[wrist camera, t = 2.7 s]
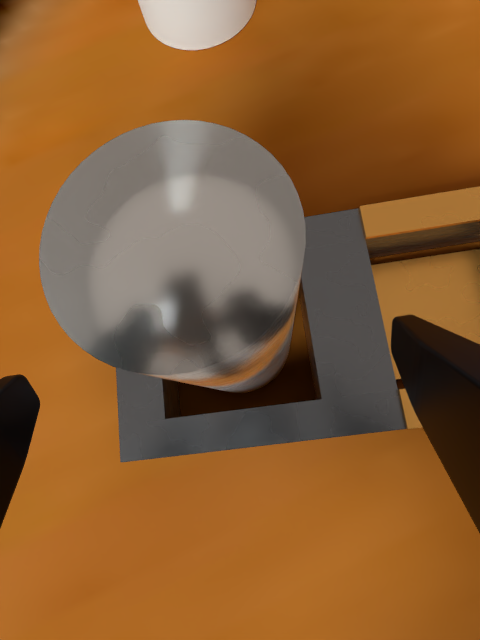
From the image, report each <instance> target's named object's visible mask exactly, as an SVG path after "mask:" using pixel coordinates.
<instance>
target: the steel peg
mask: <svg viewBox="0 0 480 640" xmlns="http://www.w3.org/2000/svg"><path fill="white" fill-rule="evenodd" d="M305 245H306V226H305V220H304V214H303V208H302V205H301V202H300V199H299V195H298V193H297V191H296V189H295V187H294V184H293V182H292V180H291V178H290V177H289V175H288V174H287V172H286V171H285V169H284V168H283V166H282V165H281V164H280V163H279V162H278V161H277V160H276V159H275V157H274V156H273V155H272V154H271V153H270V152H268V151H267V150H266V149H265V148H264V147H263V146H261V145H260V144H259V143H257V142H256V141H254V140H253V139H251V138H249V137H248V136H246V135H244V134H242V133H240V132H238V131H236V130H233V129H231V128H228V127H225V126H222V125H218V124H214V123H209V122H203V121H193V120H176V121H165V122H159V123H153V124H150V125H146V126H143V127H139V128H136V129H134V130H131V131H129V132H126V133H124V134H122V135H120V136H118V137H116V138H114V139H112V140H111V141H109V142H107V143H106V144H104V145H103V146H101V147H100V148H98V149H97V150H95V151H94V152H93V153H92V154H91V155H89V156H88V157H87V158H86V159H85V160H84V161H83V162H81V163H80V165H79V166H78V167H77V168H76V169H75V170H74V171H73V172H72V173H71V174H70V176H69V177H68V178H67V180H66V181H65V183H64V184H63V185H62V187H61V188H60V190H59V192H58V193H57V195H56V197H55V199H54V201H53V202H52V205H51V207H50V210H49V212H48V214H47V217H46V220H45V224H44V227H43V231H42V236H41V242H40V253H39V267H40V275H41V282H42V286H43V290H44V294H45V297H46V299H47V302H48V304H49V307H50V309H51V311H52V313H53V315H54V316H55V318H56V320H57V321H58V323H59V325H60V326H61V327H62V328H63V330H64V331H65V332H66V333H67V334H68V336H69V337H70V338H71V339H72V340H73V341H74V342H75V343H76V344H78V345H79V346H80V347H81V348H82V349H83V350H85V351H86V352H88V353H89V354H91V355H92V356H94V357H95V358H97V359H98V360H101V361H103V362H105V363H107V364H109V365H111V366H113V367H117V368H120V369H123V370H126V371H130V372H134V373H139V374H144V375H149V376H154V377H158V378H163V379H168V380H173V381H178V382H183V383H188V384H193V385H198V386H203V387H208V388H212V389H217V390H222V391H227V392H233V393H244V392H250V391H254V390H257V389H259V388H262V387H263V386H265V385H267V384H268V383H270V382H271V381H272V380H273V379H274V378H275V377H276V376H277V375H278V374H279V373H280V371H281V370H282V368H283V367H284V365H285V363H286V360H287V358H288V354H289V350H290V343H291V337H292V331H293V324H294V318H295V311H296V305H297V299H298V292H299V286H300V280H301V273H302V267H303V260H304V253H305Z"/></svg>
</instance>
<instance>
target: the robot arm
mask: <svg viewBox="0 0 480 640" xmlns="http://www.w3.org/2000/svg"><path fill="white" fill-rule="evenodd" d="M391 352H392V356H393V359H394V361H395V364H396V366H397V369H398V371H399V374H400V377H401V379H402V382H403V384H404V387H405V389H406V392H407V394H408V397H409V400H410V402H411V405H412V407H413V409H414V411H415V413H416V415H417V417H418V419H419V421H420V423H421V425H422V427H423V429H424V431H425V432H426V434H427V436H428V438H429V440H430V442H431V444H432V445H433V447H434V449H435V451H436V453H437V455H438V457H439V458H440V460H441V462H442V464H443V466H444V468H445V470H446V472H447V473H448V475H449V477H450V479H451V481H452V483H453V485H454V486H455V488H456V490H457V492H458V494H459V496H460V498H461V499H462V501H463V503H464V505H465V507H466V509H467V511H468V512H469V514H470V516H471V518H472V520H473V522H474V524H475V525H476V527H477V529H478V531H479V533H480V344H478V343H476V342H473V341H471V340H469V339H467V338H464V337H462V336H460V335H458V334H455V333H453V332H451V331H449V330H446V329H444V328H442V327H440V326H437V325H435V324H433V323H431V322H428V321H426V320H424V319H422V318H419V317H417V316H415V315H403V316H397V317H395V318H394V319H393V321H392V331H391ZM39 408H40V400H39V398H38V396H37V394H36V393H35V391H34V389H33V388H32V386H31V385H30V383H29V382H28V380H27V378H26V377H25V376H23V375H20V374H19V375H12V376H6V377H3V378H2V379H0V528H1V525H2V523H3V520H4V517H5V515H6V512H7V509H8V507H9V504H10V501H11V499H12V496H13V494H14V491H15V488H16V486H17V483H18V480H19V478H20V475H21V472H22V469H23V467H24V464H25V460H26V457H27V454H28V450H29V446H30V442H31V439H32V435H33V431H34V427H35V423H36V420H37V416H38V412H39Z"/></svg>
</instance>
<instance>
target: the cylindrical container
mask: <svg viewBox="0 0 480 640" xmlns="http://www.w3.org/2000/svg"><path fill="white" fill-rule="evenodd" d="M138 2H139V5H140V8H141V11H142V14H143V16H144V19H145V22H146V25H147V27H148V28H149V30H150V32H151V33H152V34H153V35H154V36H155V37H156V38H157V39H158V40H159V41H161V42H162V43H164V44H165V45H168V46H170V47H173V48H177V49H182V50H200V49H206V48H210V47H213V46H216V45H219V44H221V43H223V42H225V41H227V40H229V39H231V38H232V37H233V36H235V35H236V34H237V33H239V32H240V31H241V30H242V29H243V27H244V26H245V25H246V24H247V23H248V21H249V20H250V18H251V16H252V14H253V12H254V9H255V5H256V0H138Z"/></svg>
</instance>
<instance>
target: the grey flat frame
mask: <svg viewBox="0 0 480 640" xmlns="http://www.w3.org/2000/svg"><path fill="white" fill-rule="evenodd" d="M304 220H305V226H306V245H305V253H304V260H303V267H302V273H301V280H300V286H299V292H298V293H299V299H300V305H301V311H302V317H303V323H304V329H305V335H306V341H307V347H308V353H309V359H310V365H311V371H312V377H313V383H314V389H315V395H316V400H310V401H302V402H294V403H286V404H278V405H270V406H262V407H254V408H247V409H239V410H231V411H223V412H215V413H207V414H199V415H191V416H183V417H181V414H180V403H179V391H178V381H173V380H168V379H163V378H158V377H154V376H149V375H144V374H139V373H134V372H130V371H126V370H123V369H120V368H117V367H116V376H117V397H118V418H119V439H120V460H121V462H128V461H137V460H145V459H154V458H162V457H171V456H179V455H188V454H196V453H205V452H213V451H221V450H230V449H238V448H247V447H255V446H264V445H272V444H281V443H289V442H298V441H306V440H315V439H323V438H332V437H340V436H349V435H357V434H365V433H374V432H382V431H391V430H399V429H412V428H421V427H422V425H421V423H420V421H419V419H418V417H417V415H416V413H415V411H414V409H413V407H412V405H411V402H410V400H409V397H408V394H407V392H406V389H398V388H397V384H396V380H397V379H401V377H400V374H399V371H398V369H397V366H396V364H395V361H394V359H393V356H392V352H391V331H392V321H393V319H394V318H395V317H397V316H403V315H415V316H417V317H419V318H422V319H424V320H426V321H428V322H431V323H433V324H435V325H437V326H440V327H442V328H444V329H446V330H449V331H451V332H453V333H455V334H458V335H460V336H462V337H464V338H467V339H469V340H471V341H473V342H476V343H478V344H480V249H475V250H468V251H462V252H455V253H449V254H442V255H435V256H429V257H422V258H416V259H409V260H402V261H396V262H389V263H383V264H376V265H371V263H370V259H369V258H373V257H380V256H386V255H393V254H399V253H406V252H413V251H419V250H426V249H432V248H439V247H445V246H452V245H458V244H465V243H471V242H478V241H480V186H479V187H473V188H466V189H460V190H454V191H448V192H442V193H436V194H430V195H424V196H418V197H412V198H406V199H399V200H393V201H387V202H381V203H375V204H369V205H363V206H359V208H358V209H352V210H345V211H339V212H333V213H327V214H321V215H315V216H309V217H304Z"/></svg>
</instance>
